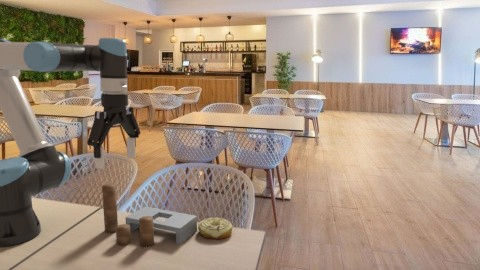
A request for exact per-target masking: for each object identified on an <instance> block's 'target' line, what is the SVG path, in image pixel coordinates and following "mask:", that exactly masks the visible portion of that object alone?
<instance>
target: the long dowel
mask: <svg viewBox="0 0 480 270" xmlns="http://www.w3.org/2000/svg"><path fill="white" fill-rule="evenodd" d="M116 187H117V185H116V183H105V184H102V186H101V188H102V189H101V190H102V207H103V209H102V210H103V221H104V222H103V223H104V232H105V233H106V234H114V233H115V234H116V227H117V226H118V225H119V222H118V206H117V190H116V189H117V188H116Z"/></svg>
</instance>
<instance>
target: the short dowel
mask: <svg viewBox="0 0 480 270" xmlns="http://www.w3.org/2000/svg"><path fill="white" fill-rule="evenodd" d="M115 237H116V238H115V239H116V241H115V242H116V245H117V246H119V247H124V246H128V245H130V244H131V242H132V241H131V233H130V225H128V224H126V223H122V224H118V226H117V227H116V232H115Z"/></svg>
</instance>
